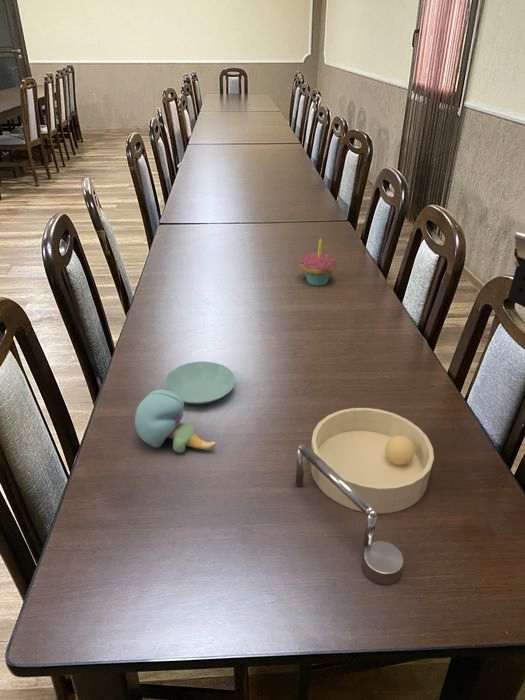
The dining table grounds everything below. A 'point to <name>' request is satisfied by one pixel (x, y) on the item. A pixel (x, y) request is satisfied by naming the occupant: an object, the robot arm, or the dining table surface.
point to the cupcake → (318, 266)
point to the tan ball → (400, 450)
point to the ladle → (379, 556)
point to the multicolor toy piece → (166, 422)
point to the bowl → (371, 458)
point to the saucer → (200, 382)
